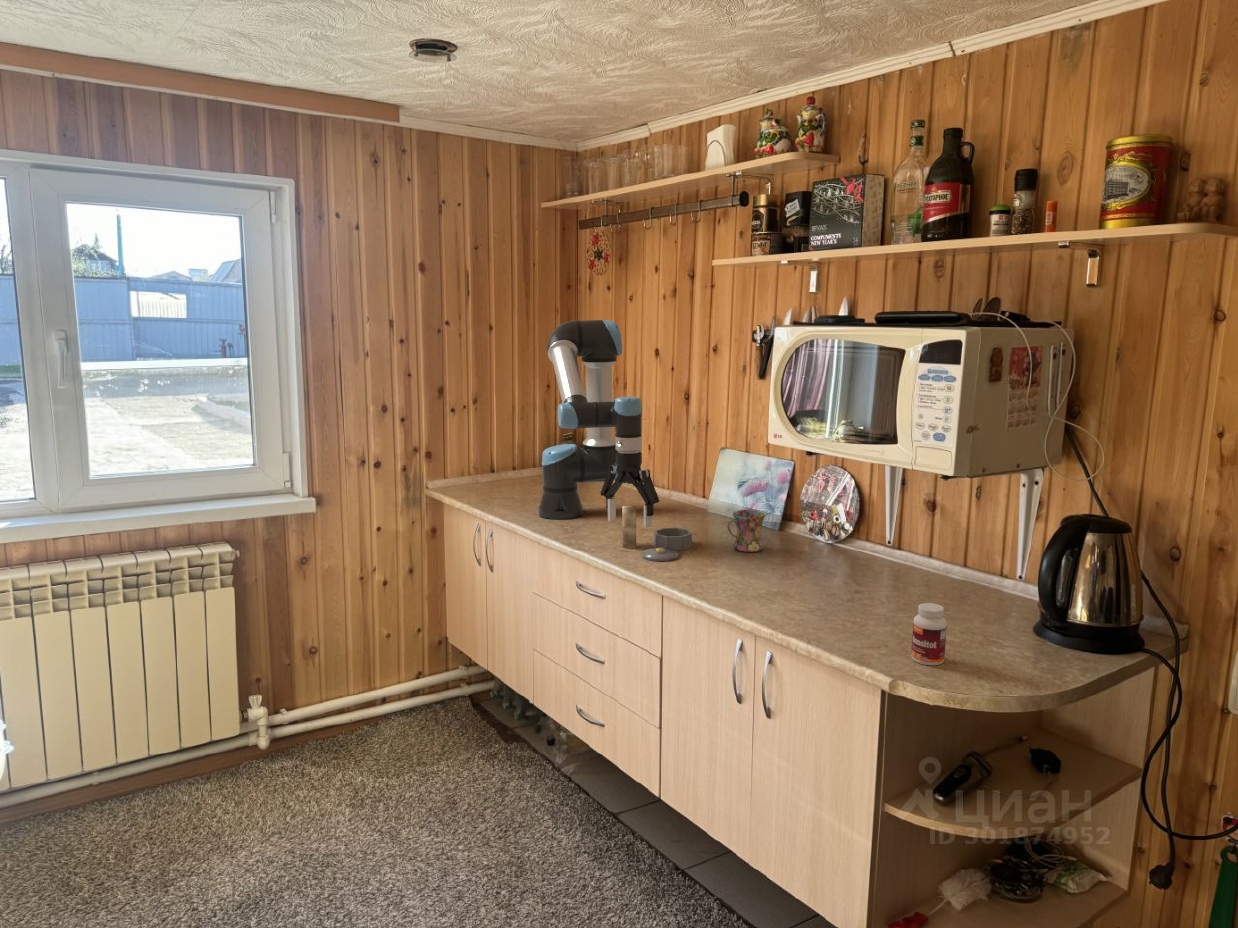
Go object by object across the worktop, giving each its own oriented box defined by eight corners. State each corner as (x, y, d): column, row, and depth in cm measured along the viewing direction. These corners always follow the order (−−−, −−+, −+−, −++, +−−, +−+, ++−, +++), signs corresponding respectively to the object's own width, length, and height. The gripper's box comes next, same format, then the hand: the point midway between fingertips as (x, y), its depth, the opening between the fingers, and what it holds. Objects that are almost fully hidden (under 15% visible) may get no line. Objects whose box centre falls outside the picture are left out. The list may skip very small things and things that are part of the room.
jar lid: (635, 557, 241) (635, 549, 240) (657, 549, 248) (657, 541, 248) (663, 563, 234) (663, 555, 234) (685, 555, 242) (685, 547, 241)
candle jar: (647, 546, 251) (647, 532, 251) (669, 538, 259) (669, 525, 258) (676, 552, 244) (676, 539, 244) (698, 544, 252) (698, 531, 252)
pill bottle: (905, 660, 169) (908, 607, 167) (918, 651, 174) (921, 599, 172) (937, 669, 165) (940, 614, 163) (949, 659, 169) (952, 606, 167)
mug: (751, 543, 253) (752, 508, 251) (771, 551, 245) (772, 514, 243) (718, 549, 247) (718, 513, 245) (737, 557, 239) (737, 520, 237)
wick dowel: (619, 547, 251) (619, 507, 249) (628, 544, 254) (628, 504, 252) (630, 549, 248) (629, 509, 246) (639, 546, 251) (638, 506, 249)
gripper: (587, 449, 251) (589, 519, 255) (654, 456, 235) (655, 532, 238) (604, 445, 257) (606, 515, 260) (671, 453, 240) (671, 527, 244)
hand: (629, 523), depth 249 cm, fingers open, 13 cm apart
